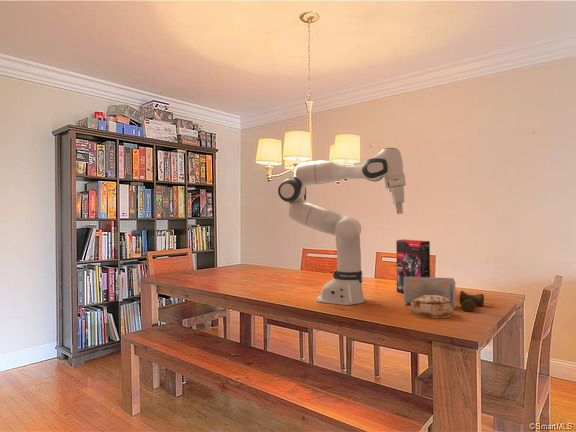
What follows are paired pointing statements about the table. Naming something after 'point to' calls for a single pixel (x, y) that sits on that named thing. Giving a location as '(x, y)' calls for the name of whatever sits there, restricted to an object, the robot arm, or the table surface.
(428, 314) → the trinket box
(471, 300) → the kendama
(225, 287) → the table surface
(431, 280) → the bracket
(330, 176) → the robot arm
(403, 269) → the graphics card box
